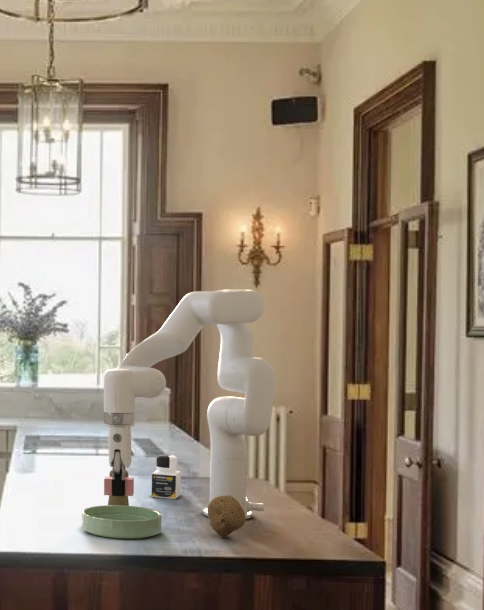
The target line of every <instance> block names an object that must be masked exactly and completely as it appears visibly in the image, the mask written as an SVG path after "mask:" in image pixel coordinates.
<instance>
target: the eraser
mask: <svg viewBox="0 0 484 610" xmlns="http://www.w3.org/2000/svg"><path fill="white" fill-rule="evenodd" d="M124 480H125V496H128V497H133V496H134V494H135V477H130V476H129V477H124ZM103 495H104V496H109V495H112V477H109V476H105V477H104V479H103Z"/></svg>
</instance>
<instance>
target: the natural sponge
mask: <svg viewBox="0 0 484 610" xmlns="http://www.w3.org/2000/svg"><path fill="white" fill-rule="evenodd" d="M206 508H207V512H208V516H207V517H208V520H209V525H210V527H211V529H212V530H213V531H214V532H215V533H216V534H217V535H218V536H219V537H222V538H223V537H228V536H230V535H232V533H234V532H235V531H237V530H239V529H241V528H242V527H244V525H245V524H246V519H245V518H246V517H245V513H244V511H243V509H242V507H241V505H240V503H239V502H238V501H237V500H236V499H235V498H233V497H232V496H229V495H222V496H217V497H215V498H213V499H212V500H211V501H210V500H209V502H208V504H207V507H206Z"/></svg>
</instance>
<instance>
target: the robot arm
mask: <svg viewBox="0 0 484 610" xmlns="http://www.w3.org/2000/svg"><path fill="white" fill-rule="evenodd" d="M264 311H265V302H264V299H263V297H262V295H261V294H260V293H259V292H257V291H255V290H254V289H218V290H198V291H197V290H196V291H191V292H188V293H186V294H185V295H184V296H183V297H182V299H181V300H180V301H179V303H178V304H177V305H176V307H175V308H174V310H172V312H171V314H169V316H168V318H167V319H166V320H165V321H164V323H163V324H162V326H161V327H160V328H159V329H158V331H156V332H154V333H153V334H151V335H149V336H148V337H147V338H145V339H144V340H142V341H141V342H139V343H138V344H136V346H134V347H133V348H132V349H131V350H130V351H129V352H128V353H126V355H125V356H124V358H123V359H122V361H121V362H120V363H119V365H118V367H117V368H110V369H107V370H105V371H104V373H103V426H104V427H108V432H107V433H108V435H107V436H108V438H107V439H108V441H107V442H108V465H109V467H110V468H112V469H111V470H112V496H125V480H124V476H126V470H127V469H128V468H130V466H131V464H132V460H133V459H132V429H131V427H135V422H136V421H135V420H136V419H135V418H136V417H135V415H136V413H135V412H136V411H135V408H136V407H135V400H136V398H146V399H153V398H157V397H159V396H160V395H162V394H163V392H164V391H165V390H166V387H167V380H166V377H165V374H164V373H162V371H161V370H159V369H157V368H154V367H152V366H154V365H156V364H158V363H159V362H162V361H164V360H167V359H170V358H173V357H176V356H178V355H180V354H183V353H184V352H186V351H187V350H188V349H189V347H190V346H191V344H192V343H193V341H194V340H195V338H196V337H197V335H198V334H199V332H200V331H202V329H203V327H204V326H205V325H216V327H217V329H218V331H219V334H220V348H219V357H218V366H217V383H218V385H219V387H220V388H221V389H222V390H224V391H228V392H234V393H240V394H241V393H242V394H244V397H239V396H231V395H230V396H229V395H227V396H226V395H225V396H219V397H216V398H214V399H213V400H212V401H211V402H210V403H209V405H208V408H207V412H206V419H207V424H208V430H209V436H210V437H209V438H210V440H209V441H210V457H209V458H210V459H209V460H210V461H209V502H210V501H211V500H212V499H213V498H215V497H217V496H222V495H229V496H232V497H233V498H235V499H236V500H237V501H238V502H239V503H240V505H241V507H242V509H243V511H244V513H245V517H246V518H245V520H249V519H251V518H252V517H253V513H252V511H256V512H264V511H265V504H264V503H259V502H251V501H249V500H248V497H247V476H248V475H247V474H248V471H247V470H248V448H247V442H246V440H245V437H244V436H249V437H259V436H262V435H264V434H265V433H266V432H267V431H268V429H269V427H270V425H271V421H272V415H273V407H274V406H273V405H274V398H275V397H274V396H275V389H276V373H275V371H274V367H273V366H272V364H271V362H269V361H268V360H267V359H264V358H263V357H254V355H253V352H254V336H253V332H252V329H251V327H250V325H249V324H250V323H254V322H256V321H258V320H259V319H260V318H261V316H262V315H263V314H264ZM203 515H204V516H206V517H208V512H207V507H206V508H204V509H203Z"/></svg>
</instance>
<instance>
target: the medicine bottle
mask: <svg viewBox="0 0 484 610" xmlns="http://www.w3.org/2000/svg"><path fill="white" fill-rule="evenodd" d="M155 463H156V465H155V466H156V470H155V471H153V472H152V473H151V497H152V498H157V499H158V498H159V499H170V500H176V499H177V498H179V497H180V496H181V495H182V471H181V470H178V457H177V456H176V455H174V454H159V455H157V456H156V462H155Z"/></svg>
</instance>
